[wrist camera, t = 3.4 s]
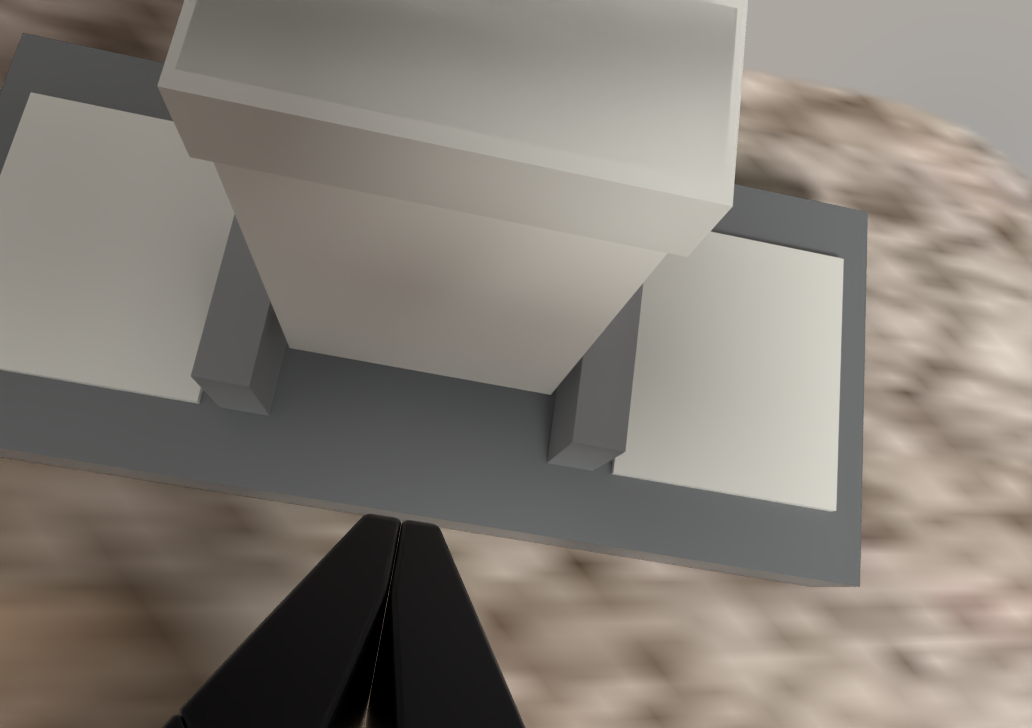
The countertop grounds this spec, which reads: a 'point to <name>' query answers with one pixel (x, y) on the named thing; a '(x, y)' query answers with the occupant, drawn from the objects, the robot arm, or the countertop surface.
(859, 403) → the grey stand base
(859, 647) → the countertop surface
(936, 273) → the countertop surface
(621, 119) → the handle
